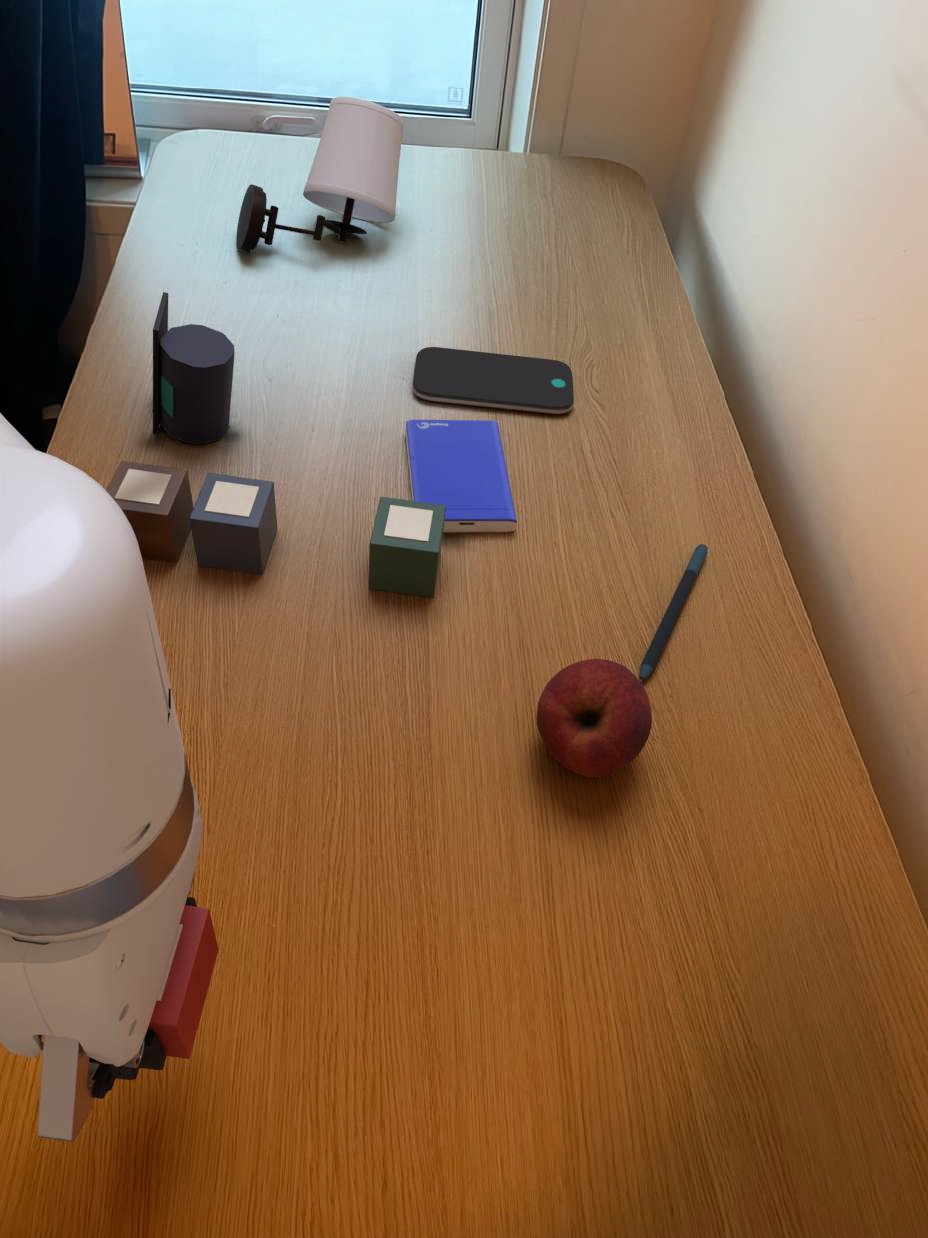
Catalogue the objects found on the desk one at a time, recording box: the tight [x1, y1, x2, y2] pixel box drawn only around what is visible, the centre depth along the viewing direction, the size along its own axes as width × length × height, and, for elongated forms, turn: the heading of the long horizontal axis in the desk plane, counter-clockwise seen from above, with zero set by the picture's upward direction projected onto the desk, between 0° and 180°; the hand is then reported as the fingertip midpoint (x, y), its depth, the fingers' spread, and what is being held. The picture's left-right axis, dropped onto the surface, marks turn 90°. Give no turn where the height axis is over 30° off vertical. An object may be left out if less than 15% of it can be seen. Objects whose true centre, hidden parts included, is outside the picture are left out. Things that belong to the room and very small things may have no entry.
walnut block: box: [105, 460, 194, 564], centre depth 70 cm, size 5×5×5 cm
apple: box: [536, 658, 653, 778], centre depth 61 cm, size 7×8×8 cm
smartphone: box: [412, 346, 575, 415], centre depth 88 cm, size 8×1×15 cm
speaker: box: [152, 291, 236, 445], centre depth 77 cm, size 8×6×10 cm
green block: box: [368, 496, 446, 599], centre depth 70 cm, size 5×5×5 cm
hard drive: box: [404, 418, 518, 533], centre depth 79 cm, size 2×8×12 cm
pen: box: [639, 543, 709, 683], centre depth 72 cm, size 1×16×1 cm, turn 154°
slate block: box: [189, 472, 278, 575], centre depth 70 cm, size 5×5×5 cm
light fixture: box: [235, 96, 405, 253], centre depth 100 cm, size 10×16×17 cm
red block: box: [148, 905, 220, 1060], centre depth 41 cm, size 5×5×5 cm
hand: (149, 991), depth 43 cm, fingers closed on red block, 5 cm apart
